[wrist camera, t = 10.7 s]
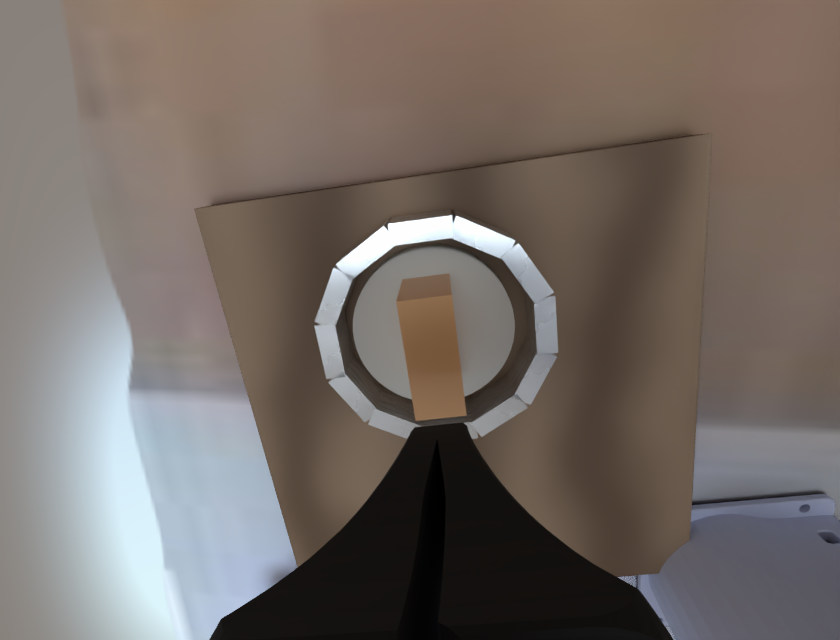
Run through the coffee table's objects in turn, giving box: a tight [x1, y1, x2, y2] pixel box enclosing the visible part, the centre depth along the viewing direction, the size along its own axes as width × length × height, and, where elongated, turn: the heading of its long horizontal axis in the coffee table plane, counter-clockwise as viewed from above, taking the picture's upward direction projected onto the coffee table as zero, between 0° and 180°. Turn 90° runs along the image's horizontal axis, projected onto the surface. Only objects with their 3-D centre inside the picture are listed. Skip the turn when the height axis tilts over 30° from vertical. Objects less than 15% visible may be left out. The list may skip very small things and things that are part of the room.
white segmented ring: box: [314, 209, 558, 439], centre depth 19 cm, size 9×9×2 cm
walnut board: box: [194, 134, 712, 577], centre depth 22 cm, size 20×21×2 cm
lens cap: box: [353, 243, 515, 421], centre depth 18 cm, size 6×6×4 cm
